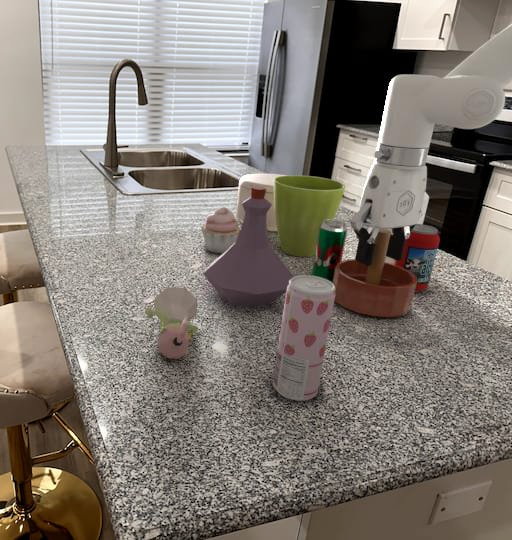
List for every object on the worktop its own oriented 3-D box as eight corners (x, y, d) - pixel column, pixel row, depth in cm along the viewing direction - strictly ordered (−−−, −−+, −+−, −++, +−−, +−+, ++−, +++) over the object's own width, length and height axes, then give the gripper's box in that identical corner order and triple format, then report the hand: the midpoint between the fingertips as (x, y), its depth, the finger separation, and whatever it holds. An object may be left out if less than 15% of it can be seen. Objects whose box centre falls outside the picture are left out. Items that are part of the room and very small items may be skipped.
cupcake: (206, 257, 111) (209, 212, 107) (194, 243, 119) (196, 201, 116) (246, 255, 113) (251, 211, 109) (231, 242, 121) (236, 200, 118)
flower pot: (287, 236, 127) (296, 172, 121) (344, 253, 117) (357, 183, 111) (252, 249, 117) (260, 180, 111) (311, 268, 107) (323, 193, 101)
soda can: (342, 281, 101) (353, 223, 96) (329, 288, 98) (340, 228, 93) (318, 274, 104) (328, 217, 100) (305, 280, 101) (315, 222, 96)
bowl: (393, 290, 98) (400, 261, 96) (421, 322, 86) (429, 290, 83) (323, 285, 99) (328, 256, 96) (340, 317, 87) (347, 284, 84)
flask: (309, 298, 93) (328, 190, 86) (258, 327, 82) (274, 205, 75) (236, 272, 104) (246, 173, 96) (182, 294, 93) (189, 185, 85)
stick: (373, 297, 93) (388, 229, 88) (377, 303, 91) (393, 233, 86) (360, 296, 93) (374, 228, 88) (363, 302, 91) (378, 232, 86)
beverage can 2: (409, 296, 96) (424, 235, 91) (381, 282, 101) (394, 224, 97) (434, 291, 98) (450, 231, 94) (405, 278, 104) (419, 221, 99)
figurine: (142, 307, 83) (134, 360, 70) (160, 269, 80) (155, 318, 67) (190, 326, 84) (191, 383, 71) (210, 290, 81) (215, 342, 68)
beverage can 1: (326, 392, 66) (347, 286, 60) (297, 407, 63) (316, 297, 57) (292, 372, 70) (308, 270, 65) (263, 385, 67) (277, 279, 62)
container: (300, 216, 144) (306, 175, 140) (306, 236, 128) (314, 189, 123) (236, 211, 147) (240, 170, 143) (234, 229, 130) (238, 184, 126)
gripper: (379, 163, 76) (357, 275, 83) (457, 158, 83) (431, 262, 89) (342, 154, 82) (324, 259, 89) (418, 151, 89) (395, 248, 96)
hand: (378, 259), depth 89 cm, fingers open, 6 cm apart
